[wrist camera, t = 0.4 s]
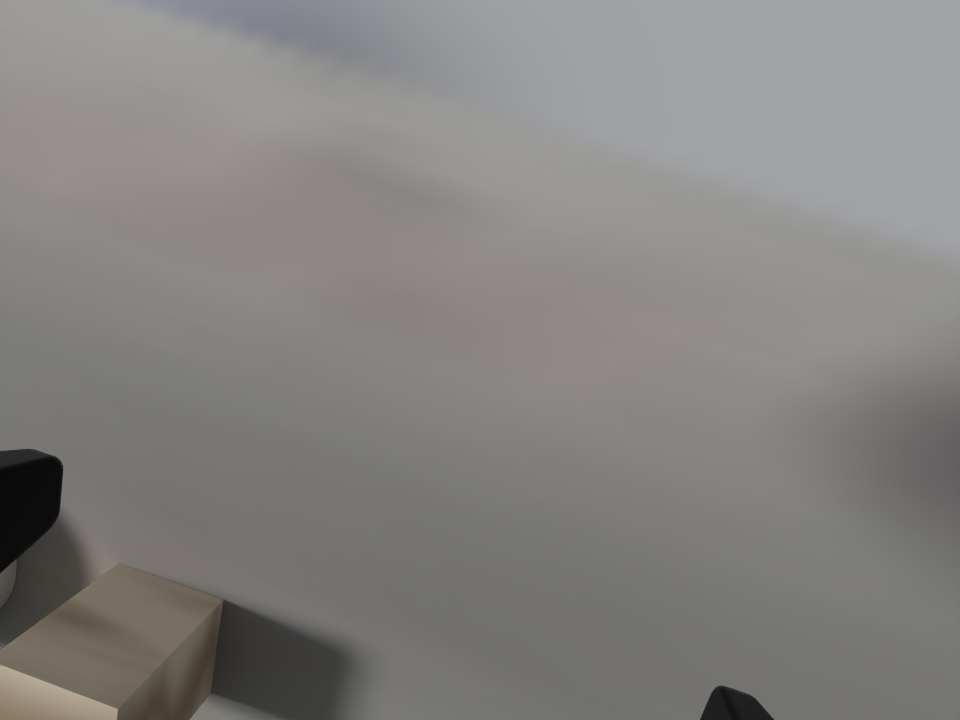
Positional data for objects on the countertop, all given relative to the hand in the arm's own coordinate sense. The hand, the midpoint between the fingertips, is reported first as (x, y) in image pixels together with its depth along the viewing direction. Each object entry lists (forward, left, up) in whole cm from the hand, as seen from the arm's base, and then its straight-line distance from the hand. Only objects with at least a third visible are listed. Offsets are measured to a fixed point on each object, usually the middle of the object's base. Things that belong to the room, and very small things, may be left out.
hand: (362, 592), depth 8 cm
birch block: (-16, +12, -14) cm, 24 cm away
